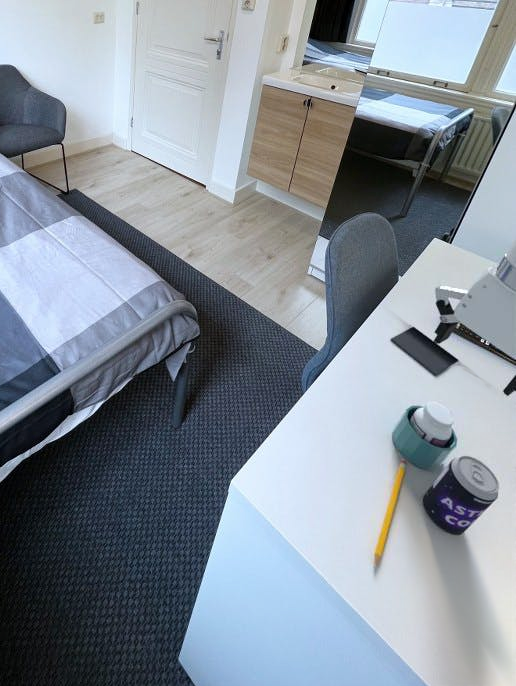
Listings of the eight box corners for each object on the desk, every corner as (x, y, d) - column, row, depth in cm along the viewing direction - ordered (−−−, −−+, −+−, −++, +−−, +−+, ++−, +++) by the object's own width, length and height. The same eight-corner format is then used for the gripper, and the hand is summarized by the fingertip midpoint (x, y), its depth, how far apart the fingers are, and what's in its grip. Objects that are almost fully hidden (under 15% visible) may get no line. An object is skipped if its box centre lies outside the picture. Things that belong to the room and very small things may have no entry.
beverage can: (419, 520, 65) (455, 478, 59) (420, 486, 69) (453, 444, 63) (464, 547, 62) (505, 506, 56) (461, 510, 66) (500, 469, 61)
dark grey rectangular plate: (470, 353, 94) (470, 351, 94) (435, 375, 88) (436, 374, 88) (425, 320, 102) (425, 319, 102) (390, 339, 96) (390, 338, 96)
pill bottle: (434, 443, 75) (459, 410, 71) (434, 469, 71) (460, 435, 67) (400, 424, 78) (422, 391, 73) (398, 449, 74) (421, 415, 69)
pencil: (406, 464, 72) (407, 462, 71) (376, 570, 59) (378, 568, 58) (400, 461, 72) (402, 458, 72) (370, 565, 59) (372, 563, 59)
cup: (450, 458, 73) (466, 438, 71) (425, 478, 70) (441, 458, 67) (407, 419, 79) (420, 399, 76) (383, 436, 76) (395, 416, 73)
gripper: (632, 316, 51) (554, 403, 59) (476, 236, 65) (429, 316, 73) (609, 336, 48) (529, 425, 56) (450, 247, 61) (403, 330, 69)
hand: (473, 363), depth 64 cm, fingers open, 9 cm apart
